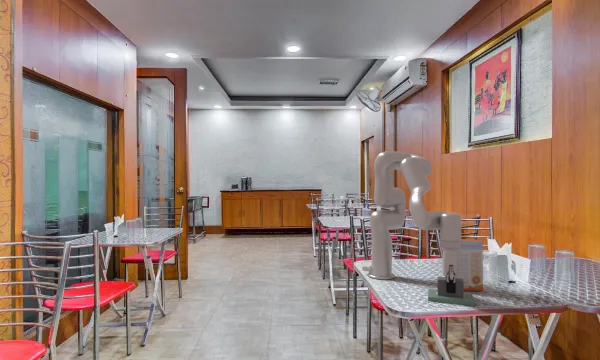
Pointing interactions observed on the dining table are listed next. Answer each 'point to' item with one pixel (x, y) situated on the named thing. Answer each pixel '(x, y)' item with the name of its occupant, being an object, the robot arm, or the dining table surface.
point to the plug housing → (442, 287)
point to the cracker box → (471, 264)
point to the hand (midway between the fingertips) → (450, 289)
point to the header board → (451, 298)
